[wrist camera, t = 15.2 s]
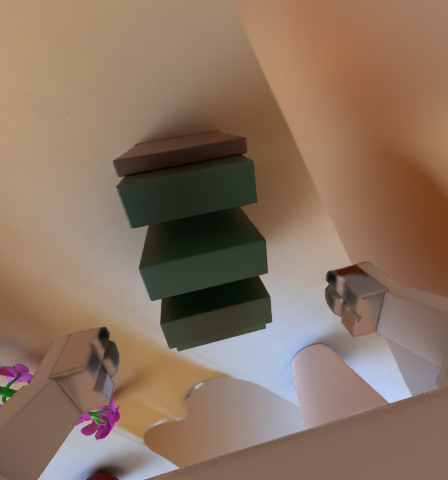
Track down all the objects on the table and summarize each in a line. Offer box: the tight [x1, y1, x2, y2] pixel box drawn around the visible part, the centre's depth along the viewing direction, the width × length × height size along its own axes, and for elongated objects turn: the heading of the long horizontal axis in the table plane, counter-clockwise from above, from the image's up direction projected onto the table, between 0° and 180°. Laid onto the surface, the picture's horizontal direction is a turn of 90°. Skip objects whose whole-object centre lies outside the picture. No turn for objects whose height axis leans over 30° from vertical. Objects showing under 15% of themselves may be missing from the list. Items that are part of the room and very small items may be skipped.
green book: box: [139, 206, 268, 301], centre depth 17 cm, size 6×2×12 cm, turn 99°
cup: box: [291, 344, 390, 430], centre depth 32 cm, size 12×12×14 cm
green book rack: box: [113, 130, 272, 351], centre depth 18 cm, size 7×14×13 cm, turn 8°
